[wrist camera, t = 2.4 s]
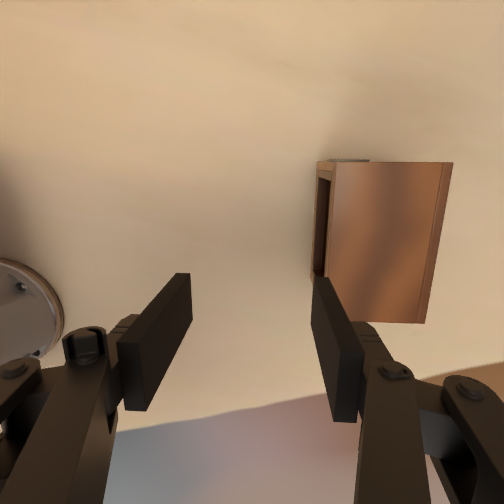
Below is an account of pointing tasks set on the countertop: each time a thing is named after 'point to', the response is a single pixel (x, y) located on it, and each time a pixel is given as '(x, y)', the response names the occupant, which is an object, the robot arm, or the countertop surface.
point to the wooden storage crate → (379, 235)
